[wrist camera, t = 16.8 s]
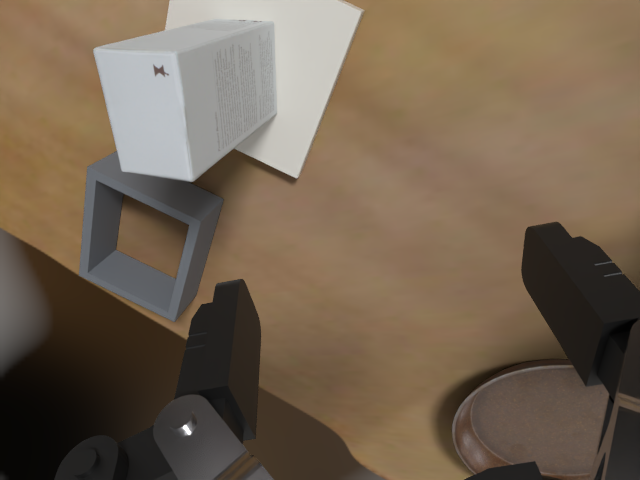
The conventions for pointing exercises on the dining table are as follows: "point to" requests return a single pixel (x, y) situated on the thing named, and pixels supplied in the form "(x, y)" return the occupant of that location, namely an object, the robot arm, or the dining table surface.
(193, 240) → the gray rectangular frame
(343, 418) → the dining table surface
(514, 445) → the plant saucer
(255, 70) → the skincare box
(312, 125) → the pale tile
